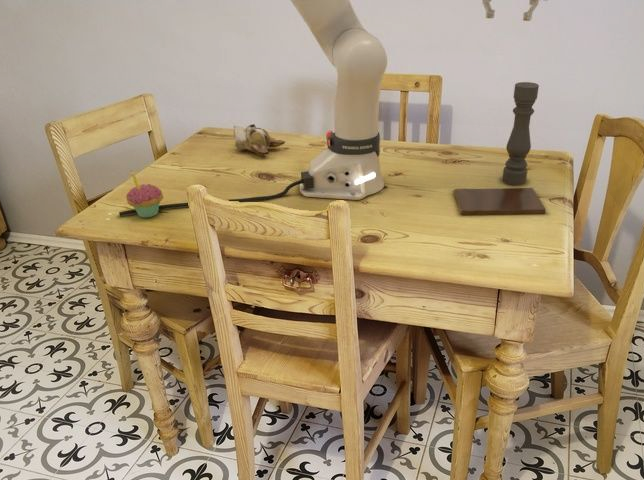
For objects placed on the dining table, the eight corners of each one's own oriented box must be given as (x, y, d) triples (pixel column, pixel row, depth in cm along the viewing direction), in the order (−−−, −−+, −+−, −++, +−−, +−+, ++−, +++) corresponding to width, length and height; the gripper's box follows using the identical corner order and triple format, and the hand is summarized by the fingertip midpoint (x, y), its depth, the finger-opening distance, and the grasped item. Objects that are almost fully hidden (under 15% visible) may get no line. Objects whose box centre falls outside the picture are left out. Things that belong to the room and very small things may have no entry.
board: (461, 215, 145) (461, 210, 144) (454, 193, 156) (454, 189, 155) (544, 213, 144) (545, 209, 144) (531, 192, 155) (532, 187, 155)
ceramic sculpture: (243, 115, 187) (285, 123, 182) (245, 142, 192) (286, 151, 187) (223, 125, 179) (266, 134, 174) (226, 153, 184) (268, 163, 179)
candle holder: (526, 186, 158) (540, 88, 145) (502, 184, 160) (514, 87, 146) (525, 177, 163) (539, 82, 150) (502, 175, 165) (513, 81, 151)
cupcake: (147, 223, 145) (136, 176, 138) (123, 216, 149) (111, 169, 142) (173, 210, 151) (163, 164, 144) (149, 203, 155) (139, 158, 148)
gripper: (467, -47, 140) (462, 18, 148) (553, -45, 131) (544, 24, 138) (478, -49, 145) (473, 14, 152) (563, -48, 135) (553, 19, 142)
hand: (508, 19), depth 145 cm, fingers open, 8 cm apart
